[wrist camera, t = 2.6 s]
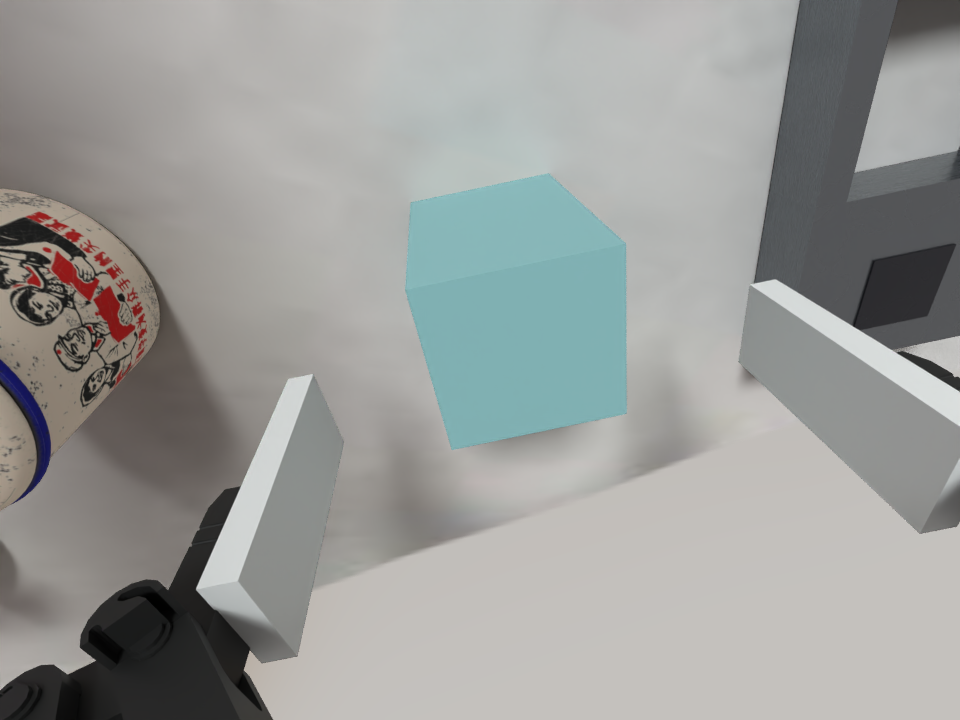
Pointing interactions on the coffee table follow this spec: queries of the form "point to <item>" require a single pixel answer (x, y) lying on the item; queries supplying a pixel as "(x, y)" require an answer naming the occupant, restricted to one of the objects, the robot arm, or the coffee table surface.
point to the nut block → (518, 309)
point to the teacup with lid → (61, 329)
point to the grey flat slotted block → (858, 191)
